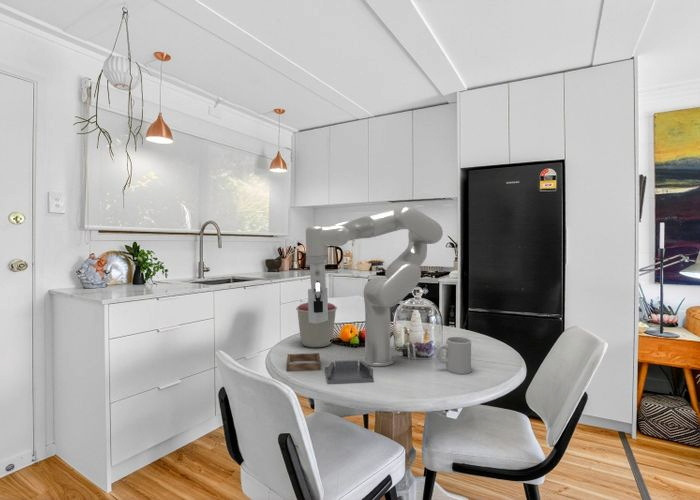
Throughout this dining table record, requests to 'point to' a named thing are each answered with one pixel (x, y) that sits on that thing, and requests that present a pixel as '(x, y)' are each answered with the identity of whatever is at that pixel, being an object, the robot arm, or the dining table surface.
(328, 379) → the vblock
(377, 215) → the robot arm
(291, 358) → the walnut collar
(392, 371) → the dining table surface
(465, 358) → the mug
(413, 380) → the dining table surface
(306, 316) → the canister
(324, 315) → the skincare box
